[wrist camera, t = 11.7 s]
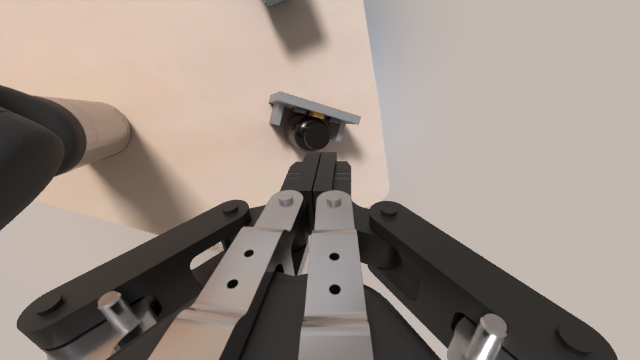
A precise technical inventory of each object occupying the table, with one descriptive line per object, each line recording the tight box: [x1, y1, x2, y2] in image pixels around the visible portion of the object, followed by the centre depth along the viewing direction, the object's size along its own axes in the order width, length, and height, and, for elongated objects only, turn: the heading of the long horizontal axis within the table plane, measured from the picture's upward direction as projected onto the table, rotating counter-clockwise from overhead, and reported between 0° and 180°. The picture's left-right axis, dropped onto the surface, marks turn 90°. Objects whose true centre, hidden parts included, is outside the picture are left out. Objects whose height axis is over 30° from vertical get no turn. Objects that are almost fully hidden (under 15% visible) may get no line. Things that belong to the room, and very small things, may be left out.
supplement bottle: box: [285, 115, 330, 152], centre depth 53 cm, size 7×7×12 cm
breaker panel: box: [269, 92, 361, 141], centre depth 53 cm, size 6×16×10 cm, turn 75°
